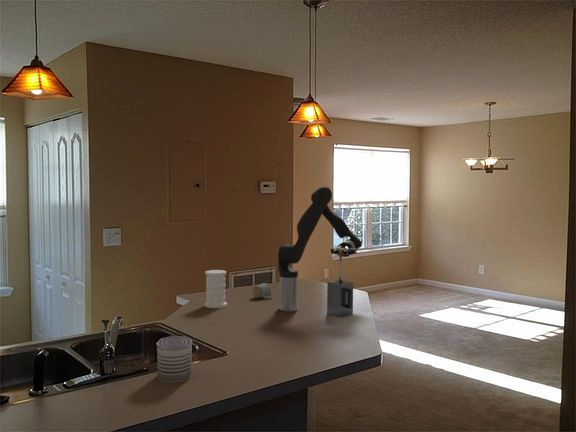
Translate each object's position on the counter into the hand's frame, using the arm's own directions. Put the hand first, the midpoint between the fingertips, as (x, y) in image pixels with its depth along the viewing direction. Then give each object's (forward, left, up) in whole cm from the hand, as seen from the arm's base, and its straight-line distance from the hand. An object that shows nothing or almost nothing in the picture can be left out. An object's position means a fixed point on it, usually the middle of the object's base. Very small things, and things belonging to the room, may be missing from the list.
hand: (339, 252), depth 248 cm
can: (+24, -100, -31) cm, 107 cm away
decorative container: (-54, -38, -31) cm, 73 cm away
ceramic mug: (-54, -6, -31) cm, 63 cm away
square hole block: (0, +2, -31) cm, 31 cm away
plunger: (-2, +2, -19) cm, 19 cm away
